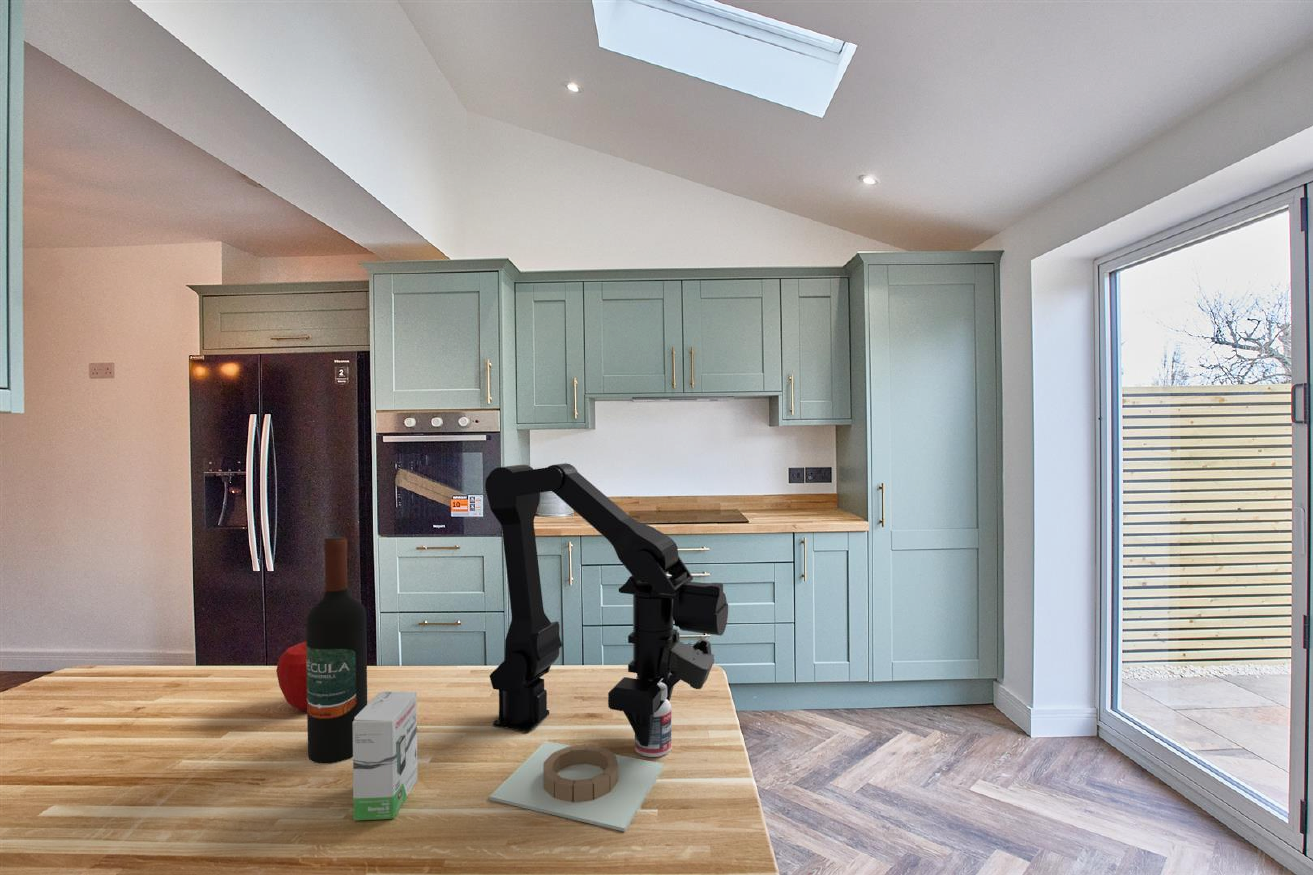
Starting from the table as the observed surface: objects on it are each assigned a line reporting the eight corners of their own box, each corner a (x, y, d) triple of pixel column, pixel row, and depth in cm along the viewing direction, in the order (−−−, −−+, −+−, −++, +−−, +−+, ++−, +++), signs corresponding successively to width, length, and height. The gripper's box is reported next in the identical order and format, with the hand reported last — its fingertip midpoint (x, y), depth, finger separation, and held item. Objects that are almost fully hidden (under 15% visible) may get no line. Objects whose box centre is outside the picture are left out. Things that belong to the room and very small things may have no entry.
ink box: (394, 821, 73) (392, 721, 72) (350, 822, 72) (349, 721, 72) (419, 778, 81) (418, 688, 81) (380, 779, 81) (379, 689, 81)
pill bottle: (667, 760, 86) (667, 696, 85) (630, 756, 87) (630, 693, 86) (674, 740, 91) (674, 680, 90) (639, 737, 92) (639, 677, 92)
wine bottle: (379, 742, 90) (377, 536, 89) (333, 768, 83) (330, 545, 82) (343, 731, 93) (340, 532, 92) (295, 755, 86) (292, 541, 86)
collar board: (489, 799, 77) (489, 780, 77) (545, 743, 90) (545, 727, 90) (624, 831, 71) (625, 810, 71) (664, 766, 84) (664, 749, 84)
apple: (342, 713, 99) (341, 645, 99) (272, 724, 95) (271, 654, 95) (346, 688, 108) (346, 626, 108) (283, 697, 104) (282, 633, 104)
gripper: (689, 656, 77) (689, 780, 77) (723, 612, 94) (723, 713, 95) (606, 645, 80) (606, 764, 81) (654, 604, 98) (654, 702, 98)
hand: (652, 734), depth 89 cm, fingers open, 6 cm apart
